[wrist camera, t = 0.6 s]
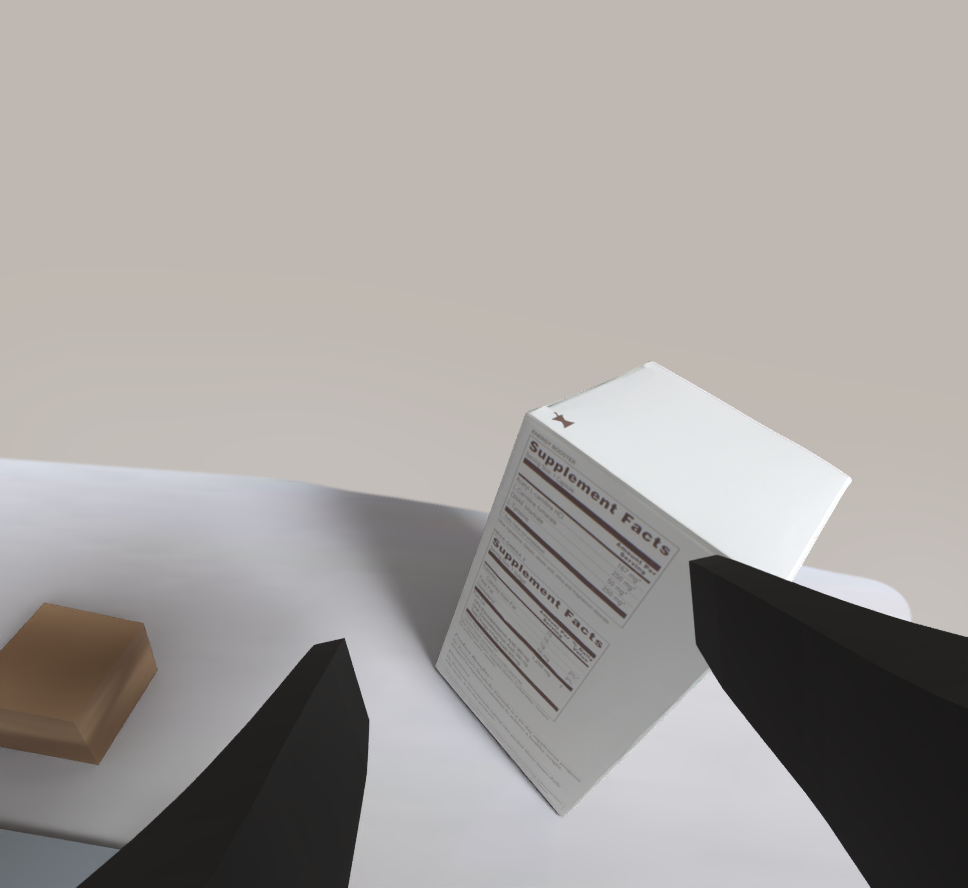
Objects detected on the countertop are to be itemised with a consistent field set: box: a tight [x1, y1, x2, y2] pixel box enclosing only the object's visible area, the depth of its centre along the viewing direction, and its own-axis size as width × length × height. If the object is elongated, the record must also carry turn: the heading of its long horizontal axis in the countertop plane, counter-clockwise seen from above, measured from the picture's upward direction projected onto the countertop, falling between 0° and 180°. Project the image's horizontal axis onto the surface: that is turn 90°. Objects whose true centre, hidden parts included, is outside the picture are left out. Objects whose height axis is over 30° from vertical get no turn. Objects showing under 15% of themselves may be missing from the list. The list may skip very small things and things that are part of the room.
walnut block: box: [0, 603, 157, 765], centre depth 21 cm, size 4×4×4 cm
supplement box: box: [436, 361, 852, 817], centre depth 23 cm, size 10×9×17 cm
